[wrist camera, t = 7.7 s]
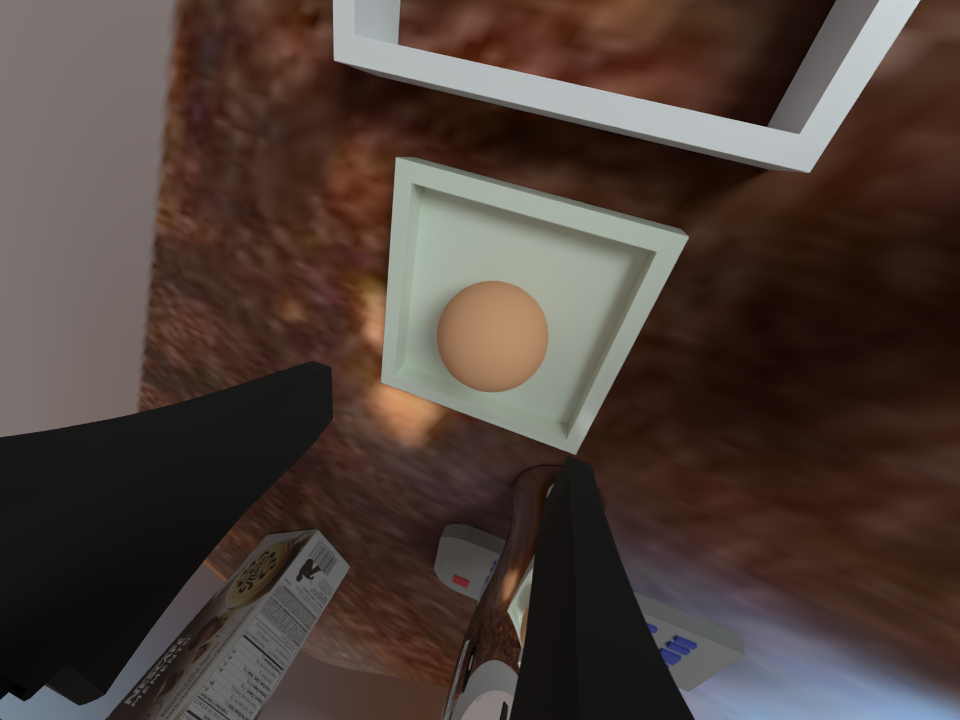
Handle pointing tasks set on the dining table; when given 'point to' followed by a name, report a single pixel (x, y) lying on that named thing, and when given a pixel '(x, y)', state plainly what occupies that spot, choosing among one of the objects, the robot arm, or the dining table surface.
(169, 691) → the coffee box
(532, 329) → the ball
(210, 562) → the dining table surface
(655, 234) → the tray
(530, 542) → the beer glass
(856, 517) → the dining table surface
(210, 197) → the dining table surface
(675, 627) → the remote control
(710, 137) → the white bent bar
